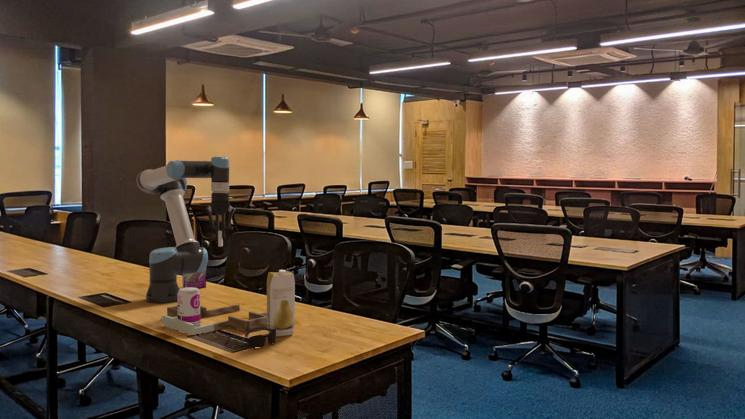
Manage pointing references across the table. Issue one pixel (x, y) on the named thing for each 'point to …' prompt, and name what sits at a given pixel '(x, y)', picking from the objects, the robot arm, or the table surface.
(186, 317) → the supplement can
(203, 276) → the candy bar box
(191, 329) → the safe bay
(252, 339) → the sunglasses
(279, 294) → the juice carton
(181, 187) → the robot arm
